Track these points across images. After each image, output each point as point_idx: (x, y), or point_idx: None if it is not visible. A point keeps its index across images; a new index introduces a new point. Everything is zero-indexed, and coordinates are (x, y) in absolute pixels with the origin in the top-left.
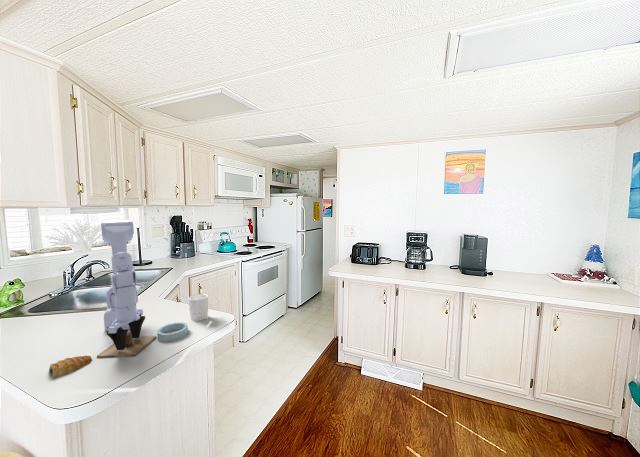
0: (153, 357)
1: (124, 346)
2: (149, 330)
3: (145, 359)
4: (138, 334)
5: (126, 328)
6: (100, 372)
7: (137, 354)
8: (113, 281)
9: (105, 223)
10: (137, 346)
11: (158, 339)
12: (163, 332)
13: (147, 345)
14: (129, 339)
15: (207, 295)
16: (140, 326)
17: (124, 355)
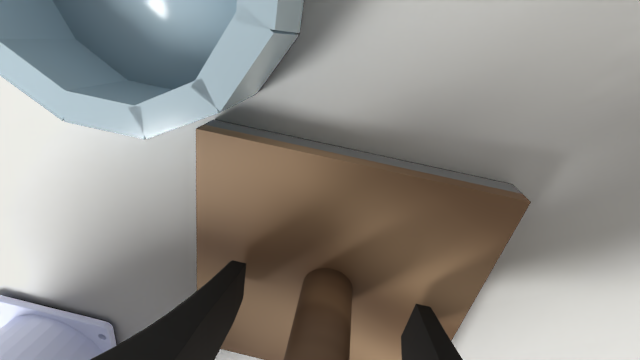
0: (586, 27)
1: (432, 321)
2: (69, 217)
3: (582, 97)
4: (234, 282)
5: (81, 347)
6: (594, 327)
7: (498, 188)
8: None
9: None
10: (371, 226)
11: (254, 88)
12: (117, 82)
13: (348, 155)
14: (342, 325)
15: None
16: (176, 335)
17: (487, 272)
